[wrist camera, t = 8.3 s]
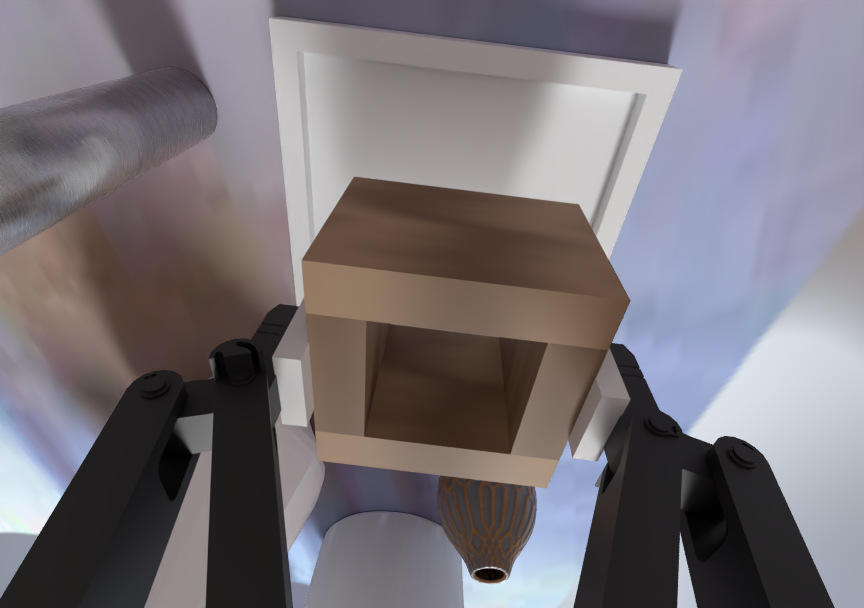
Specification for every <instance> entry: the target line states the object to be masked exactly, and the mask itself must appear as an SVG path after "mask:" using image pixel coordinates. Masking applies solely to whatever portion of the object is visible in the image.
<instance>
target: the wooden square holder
mask: <svg viewBox="0 0 864 608" xmlns="http://www.w3.org/2000/svg"><path fill="white" fill-rule="evenodd" d="M301 263H302V275H303V288H304V300H305V312H306V324H307V337H308V342H309V351H310V363H311V376H312V388H313V401H314V422H315V435H316V447H317V459H318V461H325V462H334V463H342V464H350V465H359V466H367V467H375V468H383V469H392V470H400V471H408V472H417V473H425V474H433V475H441V476H450V477H458V478H466V479H475V480H483V481H491V482H500V483H508V484H516V485H524V486H533V487H541V488H547V486H548V484H549V482H550V479H551V477H552V475H553V473H554V470H555V468H556V466H557V464H558V461H559V459H560V457H561V455H562V453H563V450H564V448H565V446H566V444H567V441H568V438H569V436H570V434H571V432H572V429H573V427H574V425H575V423H576V421H577V418H578V416H579V414H580V412H581V409H582V407H583V405H584V403H585V400H586V398H587V396H588V394H589V391H590V389H591V387H592V385H593V382H594V380H595V378H596V377H597V374H598V372H599V370H600V368H601V365H602V363H603V361H604V359H605V356H606V354H607V352H608V350H609V348H610V345H611V343H612V341H613V339H614V336H615V334H616V332H617V330H618V327H619V325H620V323H621V321H622V319H623V316H624V314H625V312H626V310H627V307H628V305H629V303H630V299H629V297H628V295H627V293H626V291H625V289H624V288H623V286H622V284H621V282H620V280H619V278H618V276H617V275H616V273H615V271H614V269H613V267H612V265H611V263H610V261H609V260H608V258H607V256H606V254H605V252H604V250H603V248H602V246H601V245H600V243H599V241H598V239H597V237H596V235H595V233H594V232H593V230H592V228H591V226H590V224H589V222H588V220H587V218H586V217H585V215H584V213H583V211H582V209H581V207H580V205H579V204H573V203H565V202H557V201H549V200H541V199H532V198H524V197H516V196H508V195H500V194H492V193H484V192H476V191H468V190H460V189H452V188H444V187H436V186H427V185H419V184H411V183H403V182H395V181H387V180H379V179H371V178H363V177H355V176H354V177H353V179H352V180H351V182H350V184H349V185H348V187H347V188H346V190H345V192H344V193H343V195H342V196H341V198H340V200H339V201H338V203H337V204H336V206H335V207H334V209H333V211H332V212H331V214H330V215H329V217H328V219H327V220H326V222H325V223H324V225H323V227H322V228H321V230H320V231H319V233H318V234H317V236H316V238H315V239H314V241H313V242H312V244H311V246H310V247H309V249H308V250H307V252H306V253H305V255H304V257H303V258H302V260H301ZM394 324H398V325H394ZM402 325H406V326H402ZM411 326H414V327H411ZM419 327H422V328H419ZM427 328H430V329H427ZM435 329H439V330H435ZM443 330H447V331H443ZM451 331H455V332H451ZM460 332H463V333H460ZM468 333H471V334H468ZM476 334H480V335H476ZM484 335H488V336H484ZM492 336H496V337H492Z"/></svg>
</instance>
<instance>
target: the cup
mask: <svg viewBox="0 0 864 608" xmlns="http://www.w3.org/2000/svg"><path fill="white" fill-rule="evenodd" d="M211 378H214V377H211ZM211 378H208V379H211ZM275 428H276V435H277V446H278V456H279V467H280V477H281V488H282V498H283V509H284V519H285V530H286V540H287V551H288V552H289V550H290V548H291V546H292V545H293V543H294V541H295V540H296V538H297V536H298V534H299V533H300V531H301V529H302V527H303V526H304V524H305V522H306V521H307V519H308V517H309V515H310V514H311V512H312V510H313V508H314V507H315V504H316V502H317V500H318V497H319V494H320V491H321V487H322V484H323V481H324V476H325V466H324V463H323V461H318V459H317V447H316V440H315V437H314V434H313V431H312V428H311V425H310V422H309V423H308V426H307V427H304V426H296V425H287V424H282V419H281V413H280V414H279V417H278V419H277V421H276V423H275ZM211 458H212V451H207V452H201V454H200V456H199V459H198V462H197V465H196V467H195V470H194V473H193V476H192V478H191V481H190V484H189V487H188V489H187V492H186V495H185V498H184V500H183V503H182V506H181V508H180V511H179V514H178V517H177V519H176V522H175V525H174V528H173V530H172V533H171V536H170V539H169V541H168V544H167V547H166V550H165V552H164V555H163V558H162V561H161V563H160V566H159V569H158V571H157V574H156V577H155V580H154V582H153V585H152V588H151V591H150V593H149V596H148V599H147V602H146V604H145V607H144V608H205V606H206V582H207V557H208V532H209V508H210V483H211Z"/></svg>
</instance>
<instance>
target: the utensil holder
mask: <svg viewBox="0 0 864 608" xmlns="http://www.w3.org/2000/svg"><path fill="white" fill-rule="evenodd" d="M304 608H464V599H463V580H462V559H461V556H460V554H459V553H458V552H457V550H456V549H455V548H454V546H453V545H452V543H451V542H450V540H449V539H448V537H447V536H446V534H445V532H444V529H443V527H442V526H440V525H439V524H437V523H435V522H433V521H430V520H428V519H425V518H423V517H420V516H416V515H412V514H407V513H401V512H390V511H373V512H363V513H358V514H354V515H351V516H348V517H345V518H343V519H342V520H340V521H338V522H337V523H335V524H334V525H332V526H331V527H330V528H329V530H328V531H327V532H326V534H325V537H324V539H323V542H322V545H321V549H320V552H319V556H318V559H317V563H316V566H315V569H314V573H313V576H312V580H311V583H310V587H309V591H308V594H307V597H306V601H305V605H304Z"/></svg>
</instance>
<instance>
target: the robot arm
mask: <svg viewBox="0 0 864 608" xmlns="http://www.w3.org/2000/svg"><path fill="white" fill-rule="evenodd" d="M209 362H210V366H211V370H212V373H213V377H214V378H211V379H206V380H198V381H190V382H183V380H182V378H181V376H180V375H179V374H177V373H176V372H174V371H167V370H162V371H154V372H151V373H148V374H145V375H143V376H141V377H140V378H138V379H136V380H135V381H133V383H132V384H131V385H130V386H129V387H128V388H127V390H126V391H125V393H124V395H123V396H122V398H121V400H120V401H119V403H118V405H117V406H116V408H115V410H114V411H113V413H112V415H111V416H110V418H109V420H108V421H107V423H106V425H105V426H104V428H103V430H102V431H101V433H100V434H99V436H98V438H97V439H96V441H95V443H94V444H93V446H92V448H91V449H90V451H89V453H88V454H87V456H86V458H85V459H84V461H83V463H82V464H81V466H80V468H79V469H78V471H77V473H76V474H75V476H74V478H73V479H72V481H71V483H70V484H69V486H68V487H67V489H66V491H65V492H64V494H63V496H62V497H61V499H60V501H59V502H58V504H57V506H56V507H55V509H54V511H53V512H52V514H51V516H50V517H49V519H48V521H47V522H46V524H45V526H44V527H43V529H42V531H41V532H40V534H39V536H38V537H37V539H36V540H35V542H34V544H33V545H32V547H31V549H30V551H29V552H28V554H27V555H26V557H25V559H24V560H23V562H22V564H21V565H20V567H19V569H18V570H17V572H16V574H15V575H14V577H13V579H12V580H11V582H10V584H9V585H8V587H7V588H6V590H5V592H4V593H3V595H2V597H1V598H0V608H144V607H145V604H146V602H147V599H148V596H149V593H150V591H151V588H152V585H153V582H154V580H155V577H156V574H157V571H158V569H159V566H160V563H161V561H162V558H163V555H164V552H165V550H166V547H167V544H168V541H169V539H170V536H171V533H172V530H173V528H174V525H175V522H176V519H177V517H178V514H179V511H180V508H181V506H182V503H183V500H184V498H185V495H186V492H187V489H188V487H189V484H190V481H191V478H192V476H193V473H194V470H195V467H196V465H197V462H198V459H199V456H200V454H201V452H207V451H212V458H211V483H210V508H209V532H208V557H207V582H206V606H205V608H293V604H292V593H291V582H290V572H289V561H288V551H287V540H286V530H285V519H284V509H283V498H282V488H281V477H280V467H279V456H278V446H277V435H276V428H275V423H276V421H277V419H278V417H279V414H280V413H281V419H282V424H287V425H296V426H304V427H307V426H308V423H309V421H310V418H311V415H312V413H313V410H314V401H313V388H312V376H311V363H310V351H309V342H308V337H307V324H306V312H305V300H304V298H303V300H302V302H301V304H300V306H291V305H283V304H279V305H278V306H276V307H275V308H274V309H272V310H271V311H269V312H268V313H267V315H266V317H265V318H264V320H263V321H262V324H261V325H260V326H259V328H258V329H257V332H256V333H255V334H254V336H253V337H252V339H251V340H249V339H234V340H230V341H226V342H224V343H222V344H220V345H219V346H217V347H216V348H215V349H214V350H213V351H212V352H211V354H210V357H209ZM643 377H644V376H643V374H642V372H641V369H639V365H638V363H637V361H636V359H635V356H634V355H633V354H632V353H631V352H630V351H629V350H628V349H627V348H626V347H625V346H624V345H623V344H615V343H611V345H610V348H609V350H608V352H607V354H606V356H605V359H604V361H603V363H602V365H601V368H600V370H599V372H598V374H597V377H596V378H595V380H594V382H593V385H592V387H591V389H590V391H589V394H588V396H587V398H586V400H585V403H584V405H583V407H582V409H581V412H580V414H579V416H578V418H577V421H576V423H575V425H574V427H573V429H572V432H571V434H570V436H569V438H568V440H569V445H570V449H571V453H572V458H575V459H583V460H591V461H598V459H599V457H600V456H601V454H602V452H603V450H604V451H605V454H606V457H607V461H608V463H607V464H606V466H605V468H604V470H603V472H602V473H601V475H600V477H599V479H598V480H597V482H596V484H595V486H596V487H599V486H600V487H599V491H598V496H597V501H596V505H595V510H594V515H593V519H592V524H591V529H590V533H589V538H588V543H587V547H586V552H585V557H584V561H583V566H582V571H581V575H580V580H579V585H578V590H577V594H576V599H575V604H574V608H677V595H678V570H679V543H680V533H681V538H682V542H683V546H684V551H685V555H686V560H687V564H688V568H689V573H690V576H691V581H692V586H693V590H694V594H695V599H696V603H697V607H698V608H834V605H833V603H832V601H831V599H830V597H829V594H828V592H827V590H826V588H825V586H824V583H823V581H822V579H821V577H820V575H819V573H818V570H817V568H816V566H815V564H814V562H813V559H812V557H811V555H810V553H809V551H808V548H807V546H806V544H805V542H804V540H803V537H802V535H801V533H800V531H799V529H798V526H797V524H796V522H795V520H794V518H793V515H792V513H791V511H790V509H789V507H788V505H787V502H786V500H785V498H784V496H783V494H782V491H781V489H780V487H779V485H778V483H777V480H776V478H775V476H774V474H773V472H772V469H771V467H770V465H769V463H768V462H767V460H766V459H765V457H764V456H763V454H761V453H760V452H759V451H758V450H757V449H756V448H755V447H753V446H752V445H750V444H749V443H747V442H745V441H743V440H741V439H738V438H736V437H729V436H724V437H720V438H718V439H717V441H716V442H715V443H714V444H713V445H712V444H710V443H707V442H704V441H701V440H698V439H696V438H693V437H690V436H688V435H686V434H684V433H682V429H681V428H680V426H679V425H678V423H677V422H676V421H675V420H674V419H672V418H671V417H670V416H669V415H667V414H665V413H663V412H661V411H660V410H659V408H658V406H657V404H656V402H655V400H654V397H653V395H652V393H651V391H650V389H649V387H648V384H647V382H646V380H645V379H644V378H643Z"/></svg>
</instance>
